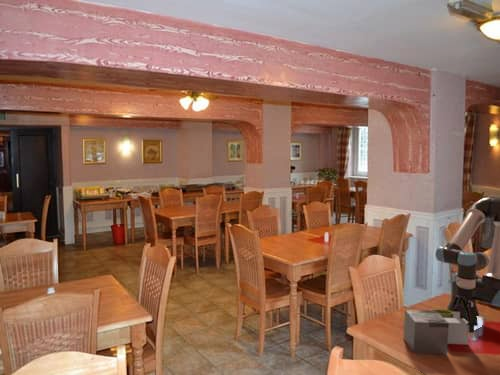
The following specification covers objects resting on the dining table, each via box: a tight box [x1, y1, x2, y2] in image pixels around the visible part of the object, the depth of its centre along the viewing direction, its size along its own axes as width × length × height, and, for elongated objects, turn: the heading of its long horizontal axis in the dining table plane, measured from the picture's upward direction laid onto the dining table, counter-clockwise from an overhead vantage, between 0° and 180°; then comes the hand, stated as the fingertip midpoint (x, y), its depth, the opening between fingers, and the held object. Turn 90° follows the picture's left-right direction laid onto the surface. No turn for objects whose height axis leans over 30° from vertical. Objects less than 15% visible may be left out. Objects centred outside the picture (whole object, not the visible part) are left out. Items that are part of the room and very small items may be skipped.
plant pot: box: [431, 309, 453, 318], centre depth 195 cm, size 9×9×9 cm
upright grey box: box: [444, 317, 469, 345], centre depth 184 cm, size 10×5×10 cm, turn 87°
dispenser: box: [403, 309, 449, 355], centre depth 179 cm, size 14×13×14 cm
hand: (462, 331), depth 184 cm, fingers open, 13 cm apart
